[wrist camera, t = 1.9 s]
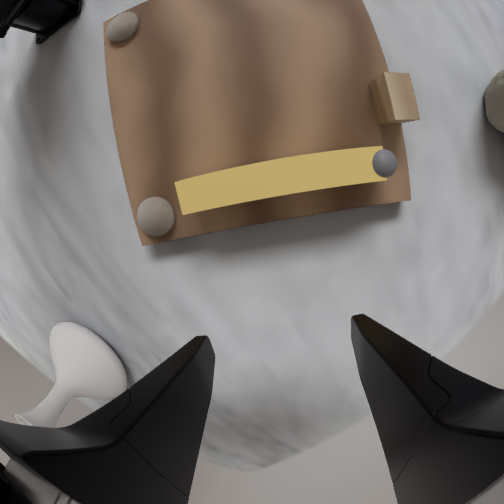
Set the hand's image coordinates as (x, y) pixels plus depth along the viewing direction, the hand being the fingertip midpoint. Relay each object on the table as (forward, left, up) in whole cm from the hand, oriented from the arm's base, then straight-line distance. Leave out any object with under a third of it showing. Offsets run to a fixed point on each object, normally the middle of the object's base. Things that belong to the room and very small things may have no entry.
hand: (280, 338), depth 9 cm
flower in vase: (-23, -10, -12) cm, 28 cm away
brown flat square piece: (0, +12, -12) cm, 17 cm away
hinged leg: (+1, +4, -10) cm, 11 cm away
